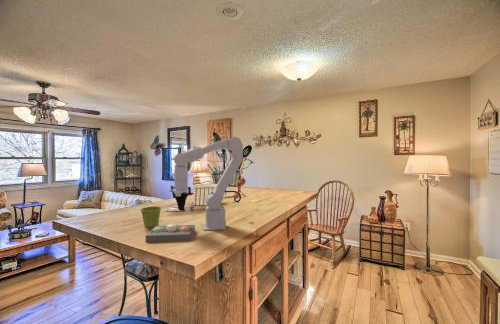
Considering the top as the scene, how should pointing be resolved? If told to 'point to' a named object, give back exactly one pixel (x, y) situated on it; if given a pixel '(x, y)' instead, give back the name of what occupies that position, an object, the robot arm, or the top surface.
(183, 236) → the button box
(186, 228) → the button terracotta
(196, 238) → the top surface
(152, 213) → the plant pot
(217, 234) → the top surface
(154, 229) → the button sage
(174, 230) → the button ivory
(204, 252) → the top surface
